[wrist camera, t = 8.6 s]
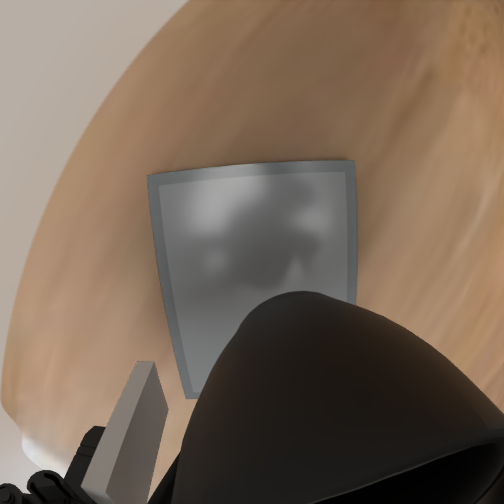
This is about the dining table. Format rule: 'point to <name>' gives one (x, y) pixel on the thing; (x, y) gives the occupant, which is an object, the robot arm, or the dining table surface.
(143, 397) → the robot arm
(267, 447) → the mug
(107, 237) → the dining table surface
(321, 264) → the slate board
